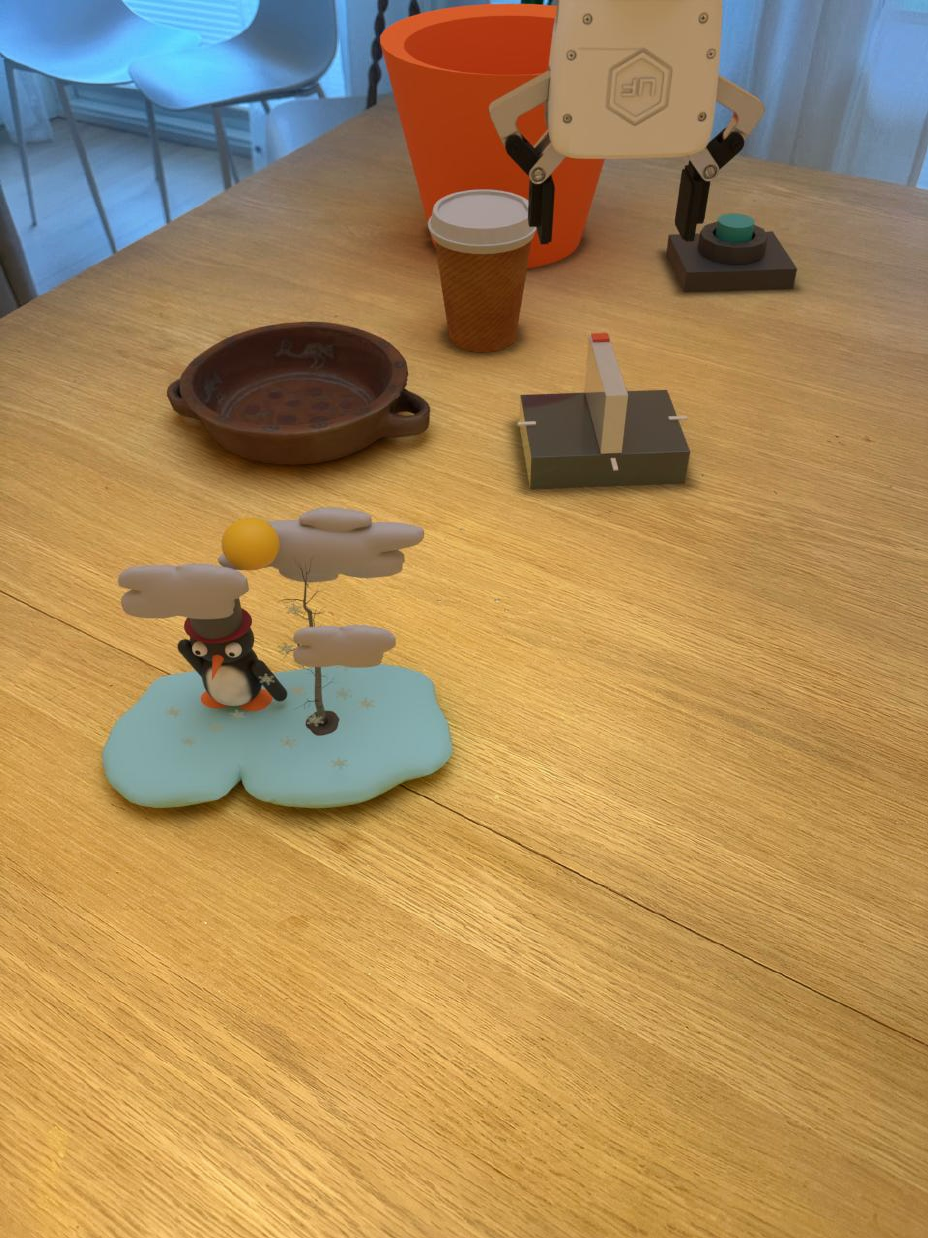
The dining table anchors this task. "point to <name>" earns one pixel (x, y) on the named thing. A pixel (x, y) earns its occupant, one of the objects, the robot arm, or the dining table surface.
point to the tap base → (571, 452)
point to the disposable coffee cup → (482, 265)
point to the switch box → (730, 262)
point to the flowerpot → (480, 109)
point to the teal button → (735, 227)
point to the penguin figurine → (276, 680)
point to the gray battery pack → (605, 393)
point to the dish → (300, 392)
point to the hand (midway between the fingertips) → (613, 234)
